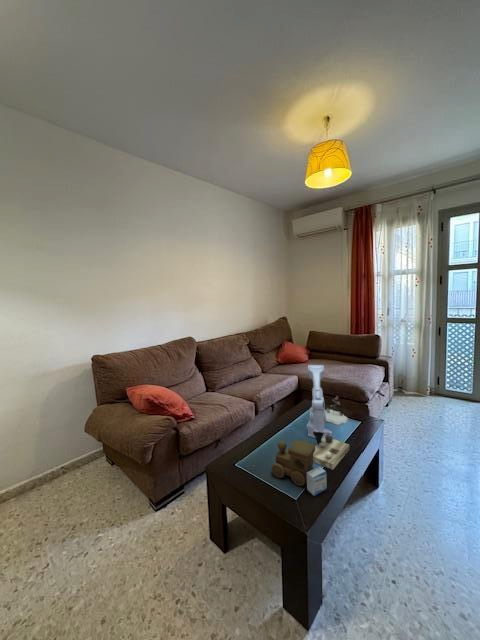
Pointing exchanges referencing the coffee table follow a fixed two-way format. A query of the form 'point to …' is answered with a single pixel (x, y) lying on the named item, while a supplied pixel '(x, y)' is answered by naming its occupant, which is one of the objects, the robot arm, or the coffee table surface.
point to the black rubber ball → (328, 438)
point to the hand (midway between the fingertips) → (319, 443)
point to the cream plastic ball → (328, 454)
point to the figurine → (335, 415)
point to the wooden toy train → (294, 461)
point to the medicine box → (316, 481)
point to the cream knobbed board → (334, 448)
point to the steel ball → (321, 444)
